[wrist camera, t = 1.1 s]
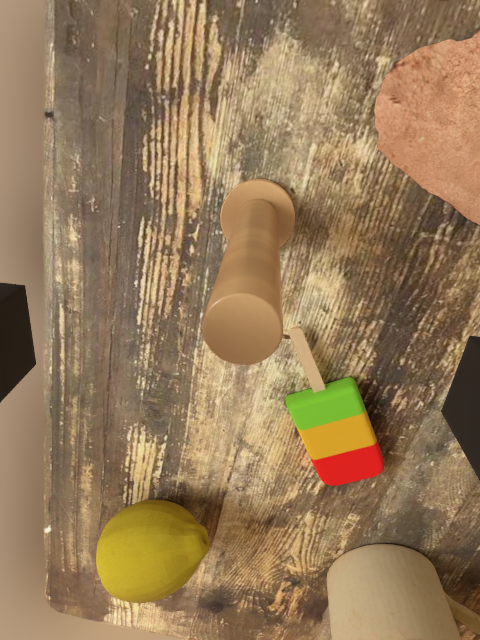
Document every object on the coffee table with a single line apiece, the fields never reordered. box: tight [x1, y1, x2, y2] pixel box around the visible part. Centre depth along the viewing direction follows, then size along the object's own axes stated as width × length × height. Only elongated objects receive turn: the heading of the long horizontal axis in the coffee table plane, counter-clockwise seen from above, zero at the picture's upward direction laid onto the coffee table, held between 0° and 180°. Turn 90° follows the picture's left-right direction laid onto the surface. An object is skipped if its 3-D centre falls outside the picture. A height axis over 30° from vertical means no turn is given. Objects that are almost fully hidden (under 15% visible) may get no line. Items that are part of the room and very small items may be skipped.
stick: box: [202, 178, 295, 365], centre depth 21 cm, size 5×5×16 cm
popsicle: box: [286, 327, 384, 486], centre depth 33 cm, size 6×15×2 cm, turn 23°
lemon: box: [96, 500, 210, 603], centre depth 37 cm, size 11×8×8 cm
